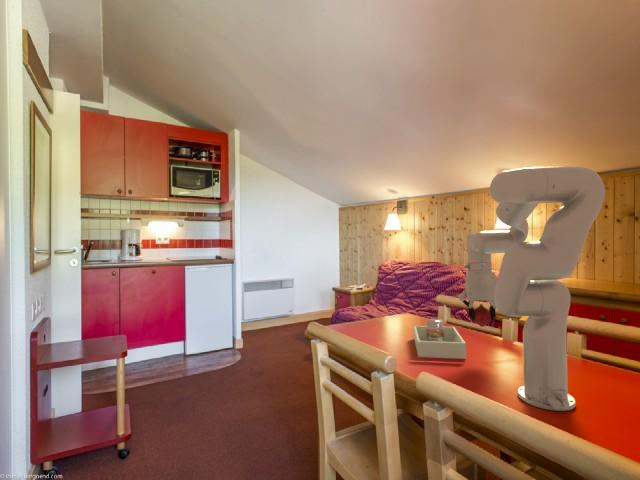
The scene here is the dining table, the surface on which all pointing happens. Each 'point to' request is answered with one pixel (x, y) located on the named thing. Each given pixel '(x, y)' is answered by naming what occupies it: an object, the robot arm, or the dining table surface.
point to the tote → (440, 344)
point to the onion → (482, 315)
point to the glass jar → (435, 330)
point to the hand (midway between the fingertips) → (482, 318)
